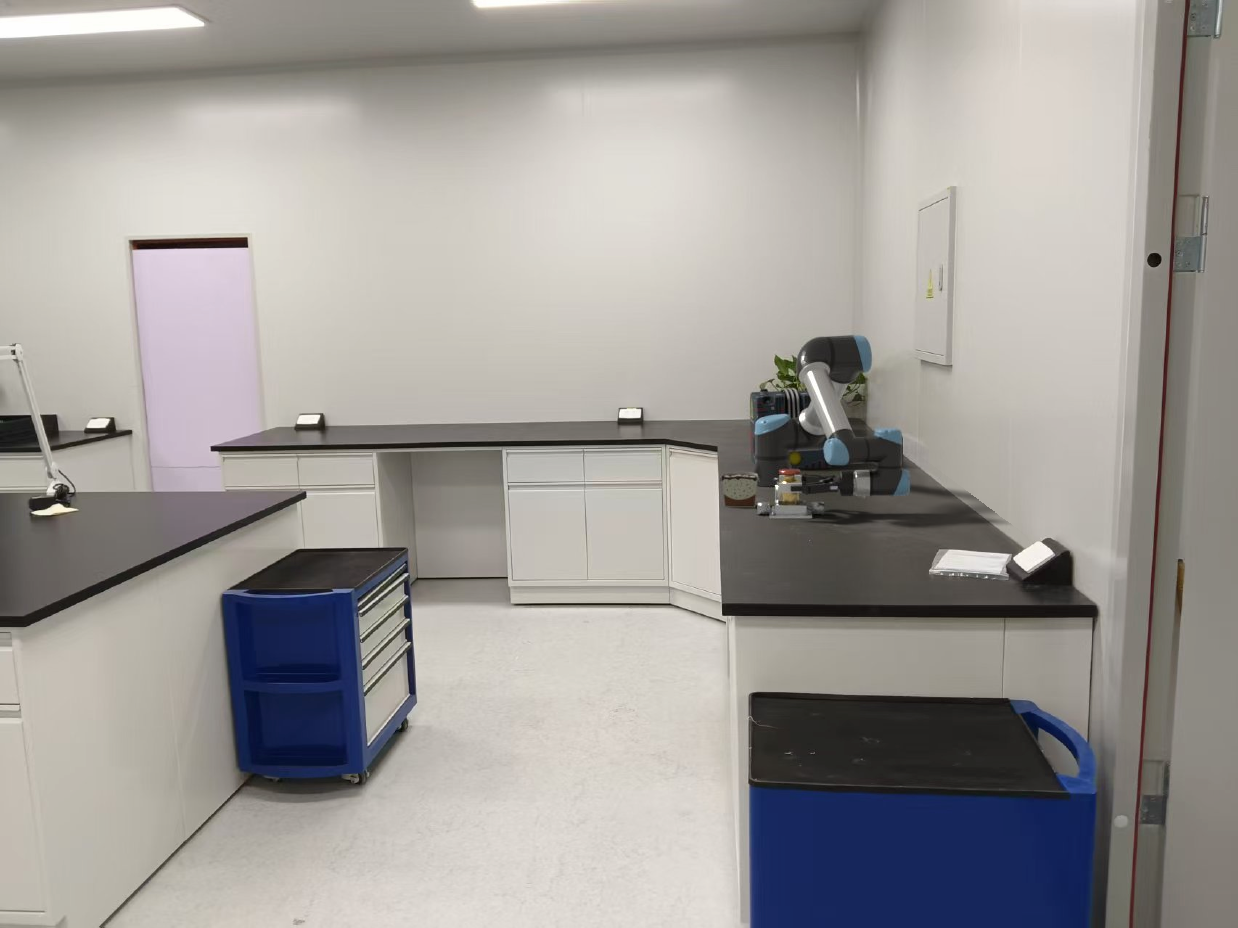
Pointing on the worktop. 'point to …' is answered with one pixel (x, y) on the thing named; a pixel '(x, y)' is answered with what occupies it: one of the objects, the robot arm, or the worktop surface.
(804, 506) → the flange socket
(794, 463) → the power unit
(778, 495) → the clear glass cylinder
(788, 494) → the brass valve
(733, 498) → the food container
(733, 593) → the worktop surface
